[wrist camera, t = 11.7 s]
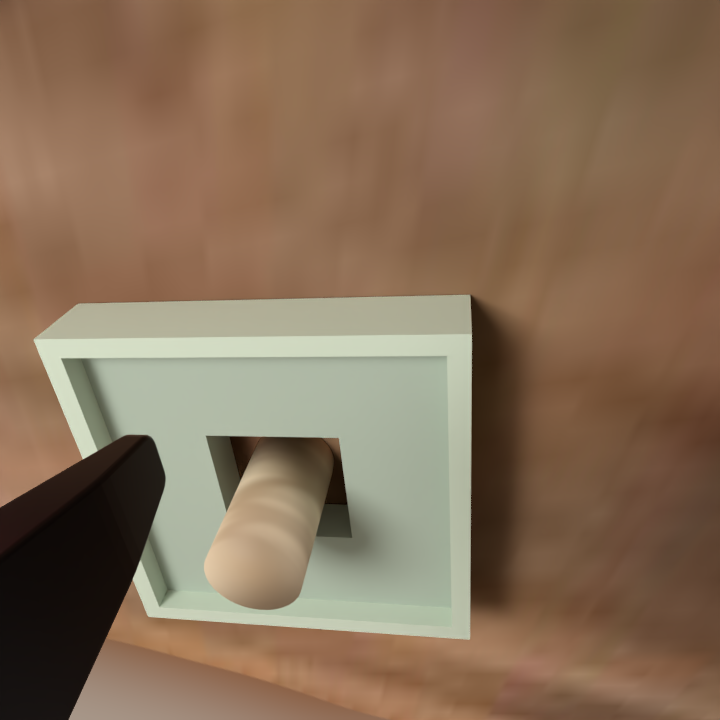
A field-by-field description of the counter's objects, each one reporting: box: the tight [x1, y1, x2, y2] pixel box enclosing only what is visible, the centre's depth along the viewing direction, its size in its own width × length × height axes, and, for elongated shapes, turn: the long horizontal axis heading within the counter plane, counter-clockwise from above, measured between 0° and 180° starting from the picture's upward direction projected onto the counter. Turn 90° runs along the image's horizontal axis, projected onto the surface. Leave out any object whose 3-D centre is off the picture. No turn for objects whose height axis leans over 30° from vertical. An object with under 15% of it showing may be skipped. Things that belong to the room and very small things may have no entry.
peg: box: [204, 437, 334, 610], centre depth 24 cm, size 4×4×6 cm
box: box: [33, 295, 472, 640], centre depth 26 cm, size 16×16×3 cm
